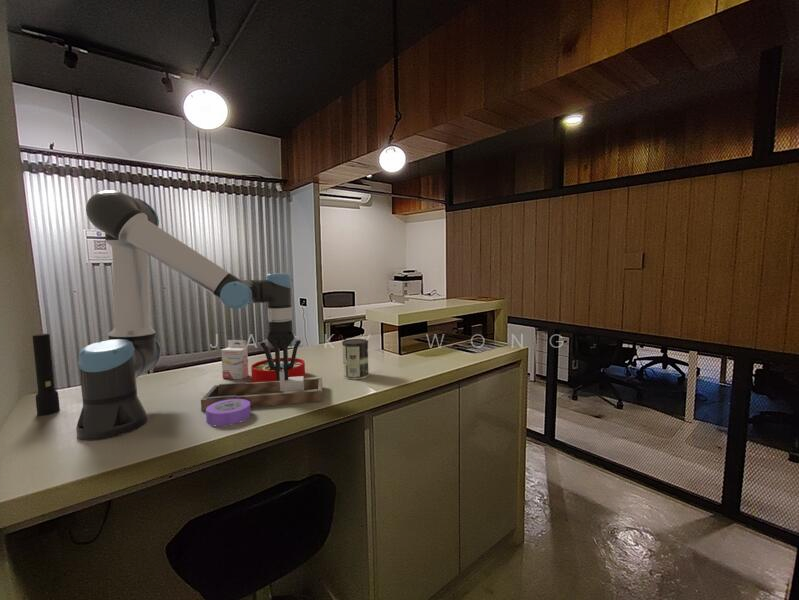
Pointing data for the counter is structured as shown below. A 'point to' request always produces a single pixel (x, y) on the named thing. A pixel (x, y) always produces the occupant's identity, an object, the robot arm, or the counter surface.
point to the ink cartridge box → (235, 360)
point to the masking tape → (228, 412)
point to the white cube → (294, 384)
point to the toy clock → (264, 373)
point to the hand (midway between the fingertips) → (283, 389)
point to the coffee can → (355, 359)
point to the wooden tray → (240, 389)
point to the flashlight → (44, 376)
